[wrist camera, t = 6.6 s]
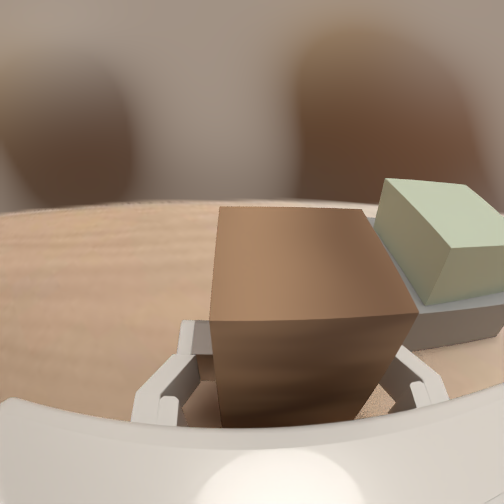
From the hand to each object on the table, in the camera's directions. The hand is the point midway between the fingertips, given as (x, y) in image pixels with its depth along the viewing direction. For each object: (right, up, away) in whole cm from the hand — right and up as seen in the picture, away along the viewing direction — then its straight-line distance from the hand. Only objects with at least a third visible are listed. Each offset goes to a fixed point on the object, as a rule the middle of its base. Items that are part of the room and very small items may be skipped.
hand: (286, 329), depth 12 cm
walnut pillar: (0, -5, +3) cm, 6 cm away
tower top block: (+12, +3, +7) cm, 14 cm away
